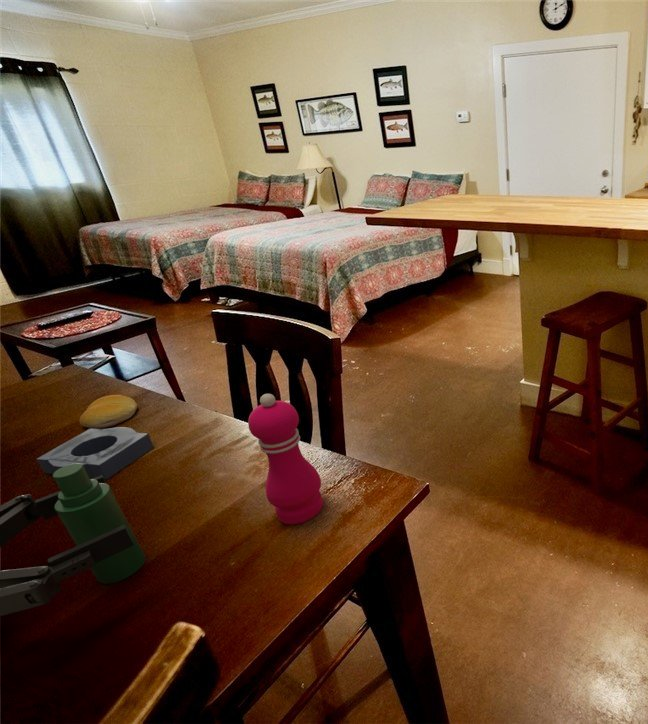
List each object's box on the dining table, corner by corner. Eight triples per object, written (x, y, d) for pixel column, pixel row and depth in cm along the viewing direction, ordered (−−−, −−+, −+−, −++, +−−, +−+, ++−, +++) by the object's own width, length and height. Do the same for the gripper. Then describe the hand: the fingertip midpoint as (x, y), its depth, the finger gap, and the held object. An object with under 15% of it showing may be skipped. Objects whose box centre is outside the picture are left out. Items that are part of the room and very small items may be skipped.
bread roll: (76, 434, 89) (67, 416, 88) (95, 411, 97) (87, 394, 95) (129, 425, 92) (121, 407, 90) (144, 403, 100) (137, 386, 98)
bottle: (86, 581, 60) (25, 482, 53) (123, 550, 64) (71, 455, 57) (120, 586, 59) (63, 486, 52) (155, 554, 64) (107, 458, 57)
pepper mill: (310, 487, 76) (278, 376, 67) (336, 505, 72) (306, 391, 63) (264, 513, 70) (224, 398, 62) (290, 535, 67) (251, 415, 58)
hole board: (36, 478, 78) (27, 463, 77) (103, 438, 88) (96, 424, 87) (99, 484, 77) (91, 469, 75) (160, 443, 87) (154, 429, 85)
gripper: (-127, 581, 54) (109, 487, 68) (-158, 750, 39) (153, 584, 53) (-171, 532, 51) (87, 444, 65) (-222, 697, 36) (127, 536, 50)
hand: (117, 507), depth 59 cm, fingers open, 13 cm apart
